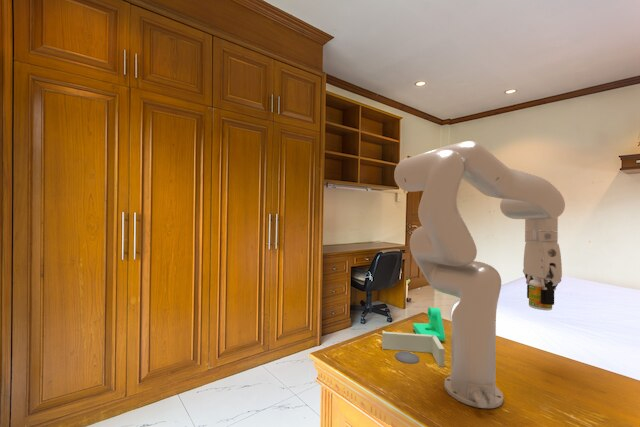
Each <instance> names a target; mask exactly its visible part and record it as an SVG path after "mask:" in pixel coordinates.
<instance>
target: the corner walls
mask: <svg viewBox="0 0 640 427" xmlns="http://www.w3.org/2000/svg"><path fill="white" fill-rule="evenodd" d="M381 349H382V350H393V351H394V350H395V351H402V352H415V353H416V352H417V353H429V354H430V353H431V355H433V358H434V359H435V361H436V364H437V365H438V367H443V368H444V367H445V365H446V364H445V362H446V361H445V360H446V359H445V351H446V350H445V347H444V346H443V344H442V343H441V340H439V339H438V338H437V336H435V335H425V334H415V333H411V332H410V333H408V332H394V331H383V330H382V333H381Z"/></svg>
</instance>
